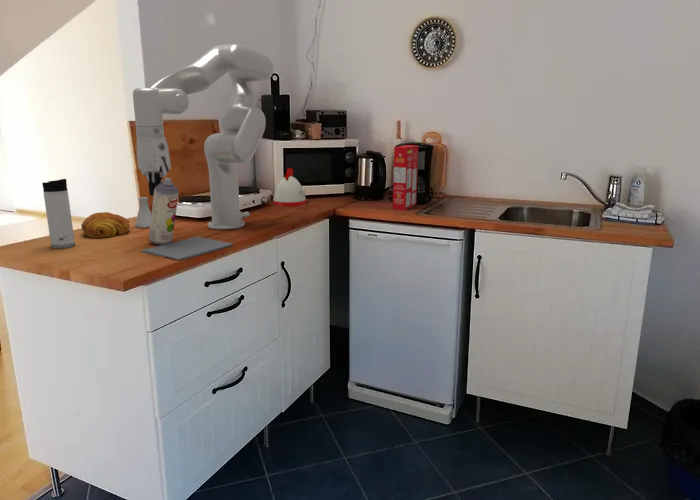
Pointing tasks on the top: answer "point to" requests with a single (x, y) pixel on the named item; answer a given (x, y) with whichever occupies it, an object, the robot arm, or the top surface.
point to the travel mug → (58, 214)
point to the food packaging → (405, 177)
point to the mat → (187, 248)
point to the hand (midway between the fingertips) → (155, 195)
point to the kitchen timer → (289, 191)
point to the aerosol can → (163, 212)
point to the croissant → (105, 225)
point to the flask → (143, 214)
